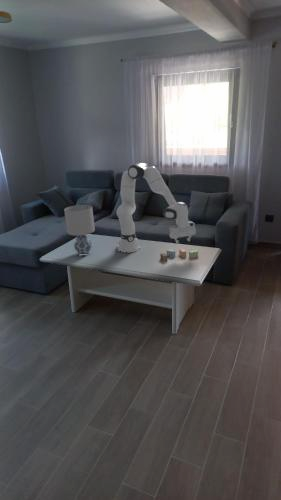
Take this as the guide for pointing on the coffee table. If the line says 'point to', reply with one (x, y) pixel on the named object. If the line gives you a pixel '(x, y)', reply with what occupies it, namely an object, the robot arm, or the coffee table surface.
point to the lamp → (80, 226)
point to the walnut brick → (163, 257)
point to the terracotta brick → (182, 252)
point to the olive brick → (193, 254)
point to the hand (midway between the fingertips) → (183, 242)
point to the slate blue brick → (170, 253)
